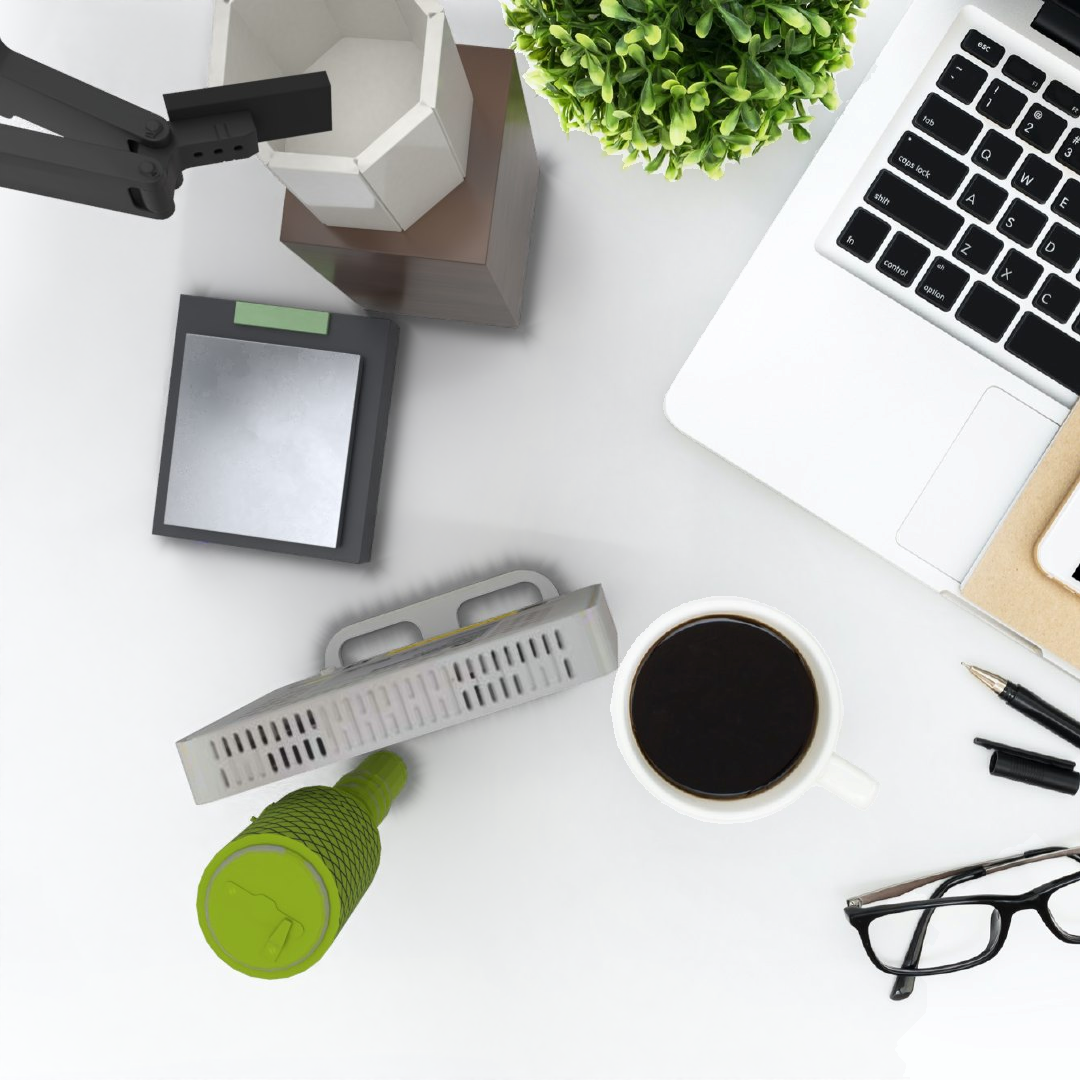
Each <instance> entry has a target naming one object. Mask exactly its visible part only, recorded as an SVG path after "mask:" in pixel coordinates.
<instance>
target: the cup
mask: <svg viewBox="0 0 1080 1080" xmlns="http://www.w3.org/2000/svg"><path fill="white" fill-rule="evenodd" d="M213 7H214V8H213V18H212V30H211V39H210V51H209V63H208V72H207V73H208V74H207V84H206V88H209V87H216V86H223V85H230V84H237V83H244V82H251V81H258V80H265V79H271V78H278V77H285V76H292V75H299V74H306V73H313V72H320V71H326V73H327V75H328V78H329V81H330V84H331V101H332V131H327V132H321V133H315V134H309V135H302V136H296V137H290V138H284V139H278V140H272V141H266V142H260V143H258V147H259V152H258V153H257V154H255V156H256V157H257V158H258V159H259V161H260V162H261V163H262V165H263V166H264V167H265V168H266V169H267V170H268V171H269V172H270V173H271V174H272V175H273V176H274V177H275V178H276V179H277V180H278V181H279V182H280V183H281V184H282V185H283V186H284V187H285V188H286V187H287V188H288V189H289V190H290V191H291V192H292V193H293V194H294V195H295V196H296V197H297V198H298V199H299V200H300V201H301V202H302V203H303V204H304V205H305V206H306V207H307V208H308V209H309V210H310V211H311V212H312V213H313V214H314V215H315V216H316V217H317V218H318V219H319V220H320V221H321V222H322V223H323V224H324V223H325V224H326V225H327V226H337V227H349V228H361V229H373V230H385V231H397V232H401V231H402V229H403V230H404V231H405V230H407V229H408V228H409V227H410V226H411V225H412V224H414V223H415V222H416V221H417V220H418V219H419V218H421V217H422V216H423V215H424V214H425V213H426V212H428V211H429V210H430V209H431V208H432V207H433V206H435V205H436V204H437V203H438V202H439V201H440V200H442V199H443V198H444V197H445V196H446V195H447V194H449V193H450V192H451V191H452V190H453V189H454V188H456V187H457V186H458V185H459V184H460V183H461V182H463V181H464V178H463V177H466V168H467V159H468V149H469V139H470V129H471V119H472V109H473V95H472V92H471V89H470V86H469V83H468V80H467V77H466V74H465V71H464V68H463V65H462V62H461V59H460V56H459V53H458V50H457V47H456V44H457V43H456V42H455V38H454V36H453V32H452V30H451V27H450V24H449V21H448V17H447V15H446V11H445V9H444V7H443V6H442V5H441V4H440V3H439V1H438V0H214V6H213Z"/></svg>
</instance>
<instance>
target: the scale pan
mask: <svg viewBox="0 0 1080 1080" xmlns="http://www.w3.org/2000/svg"><path fill="white" fill-rule="evenodd" d="M363 360H364V357H362V356H361V355H356V354H348V353H340V352H332V351H324V350H316V349H308V348H300V347H292V346H284V345H276V344H268V343H260V342H252V341H244V340H236V339H228V338H220V337H212V336H204V335H196V334H188V333H187V334H186V341H185V350H184V358H183V366H182V375H181V383H180V391H179V400H178V408H177V416H176V425H175V433H174V442H173V450H172V458H171V467H170V475H169V483H168V492H167V500H166V508H165V517H164V524H166V525H174V526H181V527H188V528H195V529H202V530H209V531H216V532H223V533H230V534H237V535H244V536H251V537H258V538H265V539H272V540H280V541H287V542H294V543H301V544H308V545H315V546H322V547H329V548H340V541H341V533H342V525H343V518H344V510H345V502H346V494H347V486H348V478H349V470H350V463H351V455H352V447H353V439H354V431H355V423H356V415H357V407H358V400H359V392H360V384H361V376H362V368H363Z"/></svg>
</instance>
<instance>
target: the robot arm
mask: <svg viewBox="0 0 1080 1080" xmlns="http://www.w3.org/2000/svg"><path fill="white" fill-rule="evenodd" d="M162 98H163V99H162V100H163V101H164V106H165V110H166V114H167V117H168V120H167V119H166V118H164V117H163V116H161V115H160V114H157V113H155V112H152V111H150V110H148V109H146V108H143V107H141V106H139V105H137V104H135V103H132V102H131V101H128V100H126V99H123V98H121V97H118V96H117V95H114V94H112V93H110V92H107V91H105V90H104V89H101V88H99V87H96V86H94V85H92V84H90V83H88V82H85V81H83V80H81V79H78V78H76V77H74V76H71V75H69V74H67V73H65V72H63V71H61V70H58V69H56V68H54V67H52V66H49V65H47V64H44V63H42V62H40V61H38V60H35V59H33V58H31V57H28V56H27V55H25V54H22V53H20V52H18V51H15V50H13V49H11V48H10V47H9V46H7V44H5V43H4V42H3V40H2V38H1V37H0V117H2V118H5V119H8V120H12V119H13V117H17V118H20V119H22V120H24V121H26V122H29V123H31V124H33V125H36V126H38V127H39V128H43V129H45V130H47V131H50V132H51V133H54V134H51V133H48V132H43V131H38V130H33V129H28V128H24V127H20V126H15V125H11V124H6V123H1V122H0V188H3V189H9V190H13V191H18V192H23V193H28V194H31V195H37V196H42V197H47V198H51V199H56V200H61V201H66V202H70V203H75V204H79V205H84V206H90V207H94V208H99V209H103V210H109V211H114V212H118V213H124V214H127V215H131V216H137V217H142V218H146V219H152V220H157V221H164V220H167V219H170V218H171V217H172V216H174V214H175V211H176V202H175V199H174V198H175V191H176V190H178V189H179V188H181V187H182V186H183V184H184V174H183V172H184V171H186V170H188V169H190V168H199V167H203V166H210V165H215V164H220V163H221V164H222V163H224V162H225V163H227V162H233V161H234V160H235V161H239V160H240V161H241V160H245V159H250V158H251V157H253V156H256V154H257V153H258V152H259V147H258V143H260V142H266V141H272V140H278V139H284V138H290V137H296V136H302V135H309V134H315V133H321V132H327V131H332V101H331V84H330V81H329V78H328V75H327V73H326V71H320V72H313V73H306V74H299V75H292V76H285V77H278V78H271V79H265V80H258V81H251V82H244V83H237V84H230V85H223V86H216V87H209V88H207V87H203V88H196V89H190V90H182V91H176V92H170V93H162Z"/></svg>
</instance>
